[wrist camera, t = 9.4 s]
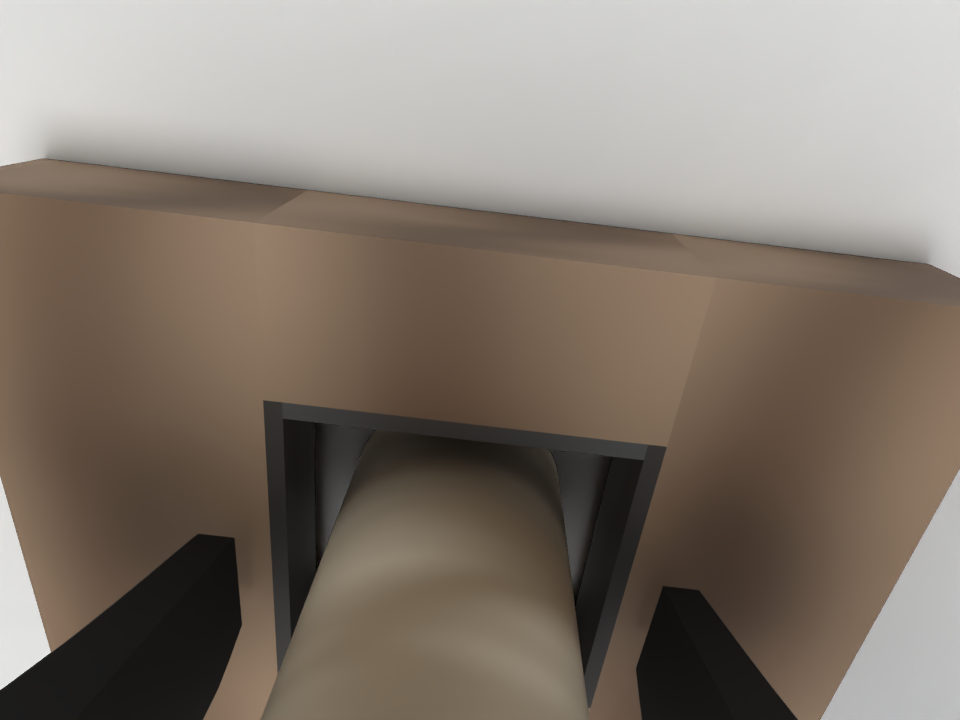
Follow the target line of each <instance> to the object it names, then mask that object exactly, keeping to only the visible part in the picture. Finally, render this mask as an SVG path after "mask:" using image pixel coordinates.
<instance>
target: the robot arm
mask: <svg viewBox="0 0 960 720" xmlns="http://www.w3.org/2000/svg"><path fill="white" fill-rule="evenodd" d="M241 627H242V618H241V606H240V595H239V583H238V571H237V560H236V548H235V538H233V537H224V536H215V535H206V534H197V535H196V536H194V537H193V538H192V539H190V540H189V541H188V542H187V543H186V544H184V545H183V546H182V547H181V548H179V549H178V550H177V551H176V552H175V553H174V554H172V555H171V556H170V557H169V558H168V559H166V560H165V561H164V562H163V563H162V564H160V565H159V566H158V567H157V568H156V569H155V570H153V571H152V572H151V573H150V574H149V575H147V576H146V577H145V578H144V579H143V580H141V581H140V582H139V583H138V584H137V585H135V586H134V587H133V588H132V589H131V590H129V591H128V592H127V593H126V594H124V595H123V596H122V597H121V598H120V599H118V600H117V601H116V602H115V603H113V604H112V605H111V606H110V607H108V608H107V609H106V610H105V611H103V612H102V613H101V614H100V615H98V616H97V617H96V618H95V619H93V620H92V621H91V622H90V623H88V624H87V625H86V626H85V627H83V628H82V629H81V630H80V631H78V632H77V633H76V634H75V635H73V636H72V637H71V638H70V639H68V640H67V641H66V642H64V643H63V644H62V645H61V646H59V647H58V648H56V649H55V650H54V651H52V652H51V653H50V654H48V655H47V656H46V657H44V658H43V659H42V660H40V661H39V662H38V663H36V664H35V665H34V666H32V667H31V668H30V669H28V670H27V671H26V672H24V673H23V674H22V675H20V676H19V677H18V678H16V679H15V680H14V681H12V682H11V683H9V684H8V685H7V686H5V687H4V688H3V689H1V690H0V720H203V719H204V717H205V715H206V713H207V711H208V709H209V707H210V705H211V703H212V701H213V699H214V696H215V694H216V692H217V690H218V688H219V686H220V683H221V681H222V678H223V675H224V673H225V670H226V668H227V665H228V662H229V660H230V657H231V654H232V652H233V649H234V646H235V643H236V641H237V638H238V635H239V632H240V629H241ZM636 675H637V683H638V692H639V701H640V709H641V716H642V720H798V719H797V718H796V716H795V715H794V714H793V713H792V711H791V710H790V709H789V708H788V706H787V705H786V704H785V703H784V701H783V700H782V699H781V698H780V696H779V695H778V694H777V693H776V691H775V690H774V689H773V688H772V686H771V685H770V684H769V682H768V681H767V680H766V678H765V677H764V676H763V675H762V673H761V672H760V671H759V669H758V668H757V667H756V665H755V664H754V663H753V661H752V660H751V659H750V657H749V656H748V655H747V653H746V652H745V651H744V649H743V648H742V647H741V645H740V644H739V643H738V641H737V640H736V639H735V637H734V636H733V635H732V633H731V632H730V631H729V629H728V628H727V627H726V625H725V624H724V623H723V621H722V620H721V619H720V617H719V616H718V615H717V613H716V612H715V611H714V609H713V608H712V607H711V605H710V604H709V603H708V601H707V600H706V599H705V597H704V596H703V595H702V593H701V592H700V591H699V590H694V589H686V588H677V587H668V586H663V587H662V590H661V593H660V596H659V600H658V603H657V606H656V609H655V612H654V615H653V618H652V621H651V624H650V627H649V630H648V633H647V636H646V639H645V642H644V645H643V648H642V651H641V654H640V657H639V660H638V663H637V666H636Z"/></svg>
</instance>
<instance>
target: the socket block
mask: <svg viewBox="0 0 960 720" xmlns="http://www.w3.org/2000/svg"><path fill="white" fill-rule="evenodd" d="M314 422H316V423H325V424H333V425H342V426H351V427H360V428H368V429H377V430H386V431H394V432H403V433H412V434H420V435H429V436H438V437H446V438H455V439H464V440H473V441H481V442H490V443H499V444H507V445H516V446H525V447H533V448H542V449H551V450H559V451H568V452H577V453H585V454H594V455H603V456H612V457H613V458H612V462H611V466H610V470H609V474H608V478H607V482H606V486H605V490H604V494H603V498H602V502H601V506H600V510H599V514H598V518H597V522H596V526H595V530H594V534H593V538H592V542H591V546H590V550H589V554H588V558H587V562H586V567H585V571H584V575H583V579H582V583H581V587H580V591H579V595H578V599H577V603H576V607H575V611H576V619H577V626H578V634H579V642H580V650H581V657H582V665H583V673H584V681H585V688H586V696H587V704H588V712H589V720H642V716H641V709H640V701H639V692H638V683H637V675H636V666H637V663H638V660H639V657H640V654H641V651H642V648H643V645H644V642H645V639H646V636H647V633H648V630H649V627H650V624H651V621H652V618H653V615H654V612H655V609H656V606H657V603H658V600H659V596H660V593H661V590H662V587H663V586H668V587H677V588H686V589H694V590H699V591H700V592H701V593H702V595H703V596H704V597H705V599H706V600H707V601H708V603H709V604H710V605H711V607H712V608H713V609H714V611H715V612H716V613H717V615H718V616H719V617H720V619H721V620H722V621H723V623H724V624H725V625H726V627H727V628H728V629H729V631H730V632H731V633H732V635H733V636H734V637H735V639H736V640H737V641H738V643H739V644H740V645H741V647H742V648H743V649H744V651H745V652H746V653H747V655H748V656H749V657H750V659H751V660H752V661H753V663H754V664H755V665H756V667H757V668H758V669H759V671H760V672H761V673H762V675H763V676H764V677H765V678H766V680H767V681H768V682H769V684H770V685H771V686H772V688H773V689H774V690H775V691H776V693H777V694H778V695H779V696H780V698H781V699H782V700H783V701H784V703H785V704H786V705H787V706H788V708H789V709H790V710H791V711H792V713H793V714H794V715H795V716H796V718H797V719H798V720H820V719H821V717H822V715H823V714H824V712H825V710H826V708H827V706H828V705H829V703H830V701H831V699H832V697H833V696H834V694H835V692H836V690H837V688H838V687H839V685H840V683H841V681H842V679H843V678H844V676H845V674H846V672H847V670H848V669H849V667H850V665H851V663H852V661H853V660H854V658H855V656H856V654H857V652H858V651H859V649H860V647H861V645H862V643H863V642H864V640H865V638H866V636H867V634H868V633H869V631H870V629H871V627H872V625H873V624H874V622H875V620H876V618H877V616H878V615H879V613H880V611H881V609H882V607H883V606H884V604H885V602H886V600H887V598H888V597H889V595H890V593H891V591H892V589H893V588H894V586H895V584H896V582H897V580H898V579H899V577H900V575H901V573H902V571H903V570H904V568H905V566H906V564H907V562H908V561H909V559H910V557H911V555H912V553H913V552H914V550H915V548H916V546H917V544H918V543H919V541H920V539H921V537H922V535H923V534H924V532H925V530H926V528H927V526H928V525H929V523H930V521H931V519H932V517H933V516H934V514H935V512H936V510H937V508H938V507H939V505H940V503H941V501H942V499H943V498H944V496H945V494H946V492H947V490H948V489H949V487H950V485H951V483H952V481H953V480H954V478H955V476H956V474H957V472H958V471H959V469H960V278H958V277H956V276H954V275H951V274H949V273H947V272H945V271H943V270H941V269H938V268H936V267H934V266H932V265H928V264H920V263H912V262H903V261H895V260H886V259H878V258H870V257H861V256H853V255H845V254H836V253H828V252H820V251H811V250H803V249H795V248H786V247H778V246H770V245H761V244H753V243H744V242H736V241H728V240H719V239H711V238H703V237H694V236H686V235H678V234H669V233H661V232H653V231H644V230H636V229H628V228H619V227H611V226H602V225H594V224H586V223H577V222H569V221H561V220H552V219H544V218H536V217H527V216H519V215H511V214H502V213H494V212H486V211H477V210H469V209H460V208H452V207H444V206H435V205H427V204H419V203H410V202H402V201H394V200H385V199H377V198H369V197H360V196H352V195H344V194H335V193H327V192H318V191H310V190H302V189H293V188H285V187H277V186H268V185H260V184H252V183H243V182H235V181H227V180H218V179H210V178H202V177H193V176H185V175H176V174H168V173H160V172H151V171H143V170H135V169H126V168H118V167H110V166H101V165H93V164H85V163H76V162H68V161H60V160H51V159H38V160H32V161H27V162H22V163H17V164H11V165H6V166H1V167H0V477H1V480H2V484H3V487H4V491H5V494H6V497H7V501H8V504H9V508H10V511H11V515H12V518H13V522H14V525H15V529H16V532H17V536H18V539H19V543H20V546H21V549H22V553H23V556H24V560H25V563H26V567H27V570H28V574H29V577H30V581H31V584H32V588H33V591H34V594H35V598H36V601H37V605H38V608H39V612H40V615H41V619H42V622H43V626H44V629H45V633H46V636H47V639H48V643H49V646H50V650H51V652H52V651H54V650H55V649H56V648H58V647H59V646H61V645H62V644H63V643H64V642H66V641H67V640H68V639H70V638H71V637H72V636H73V635H75V634H76V633H77V632H78V631H80V630H81V629H82V628H83V627H85V626H86V625H87V624H88V623H90V622H91V621H92V620H93V619H95V618H96V617H97V616H98V615H100V614H101V613H102V612H103V611H105V610H106V609H107V608H108V607H110V606H111V605H112V604H113V603H115V602H116V601H117V600H118V599H120V598H121V597H122V596H123V595H124V594H126V593H127V592H128V591H129V590H131V589H132V588H133V587H134V586H135V585H137V584H138V583H139V582H140V581H141V580H143V579H144V578H145V577H146V576H147V575H149V574H150V573H151V572H152V571H153V570H155V569H156V568H157V567H158V566H159V565H160V564H162V563H163V562H164V561H165V560H166V559H168V558H169V557H170V556H171V555H172V554H174V553H175V552H176V551H177V550H178V549H179V548H181V547H182V546H183V545H184V544H186V543H187V542H188V541H189V540H190V539H192V538H193V537H194V536H196V535H197V534H206V535H215V536H224V537H233V538H235V548H236V560H237V571H238V583H239V595H240V606H241V618H242V627H241V629H240V632H239V635H238V638H237V641H236V643H235V646H234V649H233V652H232V654H231V657H230V660H229V662H228V665H227V668H226V670H225V673H224V675H223V678H222V681H221V683H220V686H219V688H218V690H217V692H216V694H215V696H214V699H213V701H212V703H211V705H210V707H209V709H208V711H207V713H206V715H205V717H204V719H203V720H261V718H262V715H263V712H264V710H265V707H266V704H267V702H268V699H269V696H270V694H271V691H272V688H273V686H274V683H275V681H276V678H277V675H278V673H279V670H280V667H281V665H282V662H283V659H284V657H285V654H286V651H287V649H288V646H289V644H290V641H291V638H292V636H293V633H294V630H295V628H296V625H297V622H298V620H299V617H300V614H301V612H302V609H303V607H304V604H305V601H306V599H307V596H308V593H309V591H310V588H311V585H312V583H313V580H314V577H315V575H316V550H315V458H314Z"/></svg>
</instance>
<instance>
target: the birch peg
mask: <svg viewBox="0 0 960 720" xmlns="http://www.w3.org/2000/svg"><path fill="white" fill-rule="evenodd" d="M261 720H589V712H588V704H587V696H586V688H585V681H584V673H583V665H582V657H581V650H580V642H579V634H578V626H577V619H576V611H575V603H574V595H573V587H572V580H571V572H570V564H569V556H568V549H567V541H566V533H565V525H564V518H563V510H562V502H561V494H560V486H559V479H558V473H557V468H556V465H555V462H554V459H553V457H552V454H551V453H550V451H549V449H542V448H533V447H525V446H516V445H507V444H499V443H490V442H481V441H473V440H464V439H455V438H446V437H438V436H429V435H420V434H412V433H403V432H394V431H386V430H376V431H375V432H374V433H373V434H372V436H371V437H370V439H369V440H368V442H367V443H366V445H365V447H364V449H363V451H362V454H361V456H360V459H359V461H358V464H357V467H356V469H355V472H354V474H353V477H352V480H351V482H350V485H349V488H348V490H347V493H346V496H345V498H344V501H343V503H342V506H341V509H340V511H339V514H338V517H337V519H336V522H335V525H334V527H333V530H332V533H331V535H330V538H329V540H328V543H327V546H326V548H325V551H324V554H323V556H322V559H321V562H320V564H319V567H318V570H317V572H316V575H315V577H314V580H313V583H312V585H311V588H310V591H309V593H308V596H307V599H306V601H305V604H304V607H303V609H302V612H301V614H300V617H299V620H298V622H297V625H296V628H295V630H294V633H293V636H292V638H291V641H290V644H289V646H288V649H287V651H286V654H285V657H284V659H283V662H282V665H281V667H280V670H279V673H278V675H277V678H276V681H275V683H274V686H273V688H272V691H271V694H270V696H269V699H268V702H267V704H266V707H265V710H264V712H263V715H262V718H261Z"/></svg>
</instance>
